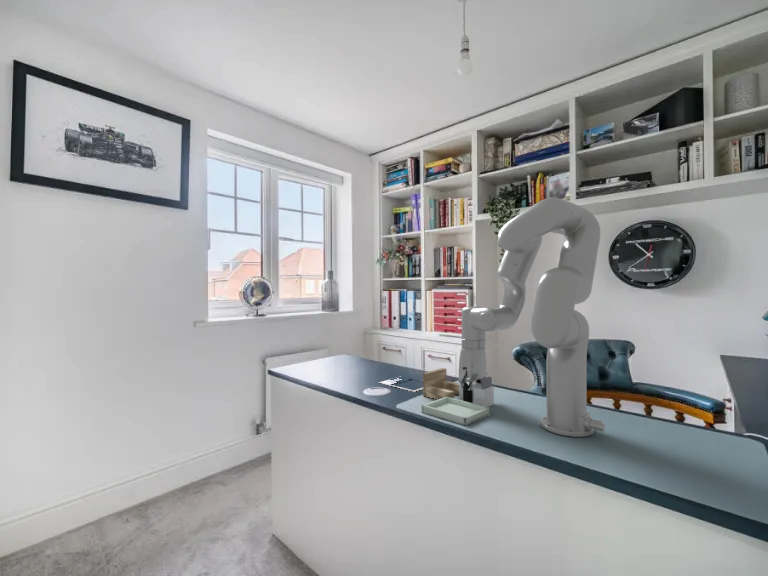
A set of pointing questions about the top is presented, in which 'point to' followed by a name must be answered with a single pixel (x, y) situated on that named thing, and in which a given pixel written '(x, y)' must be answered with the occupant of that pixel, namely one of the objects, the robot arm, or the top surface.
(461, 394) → the white box
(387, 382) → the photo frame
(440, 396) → the dock
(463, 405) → the tray
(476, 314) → the robot arm
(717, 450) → the top surface
